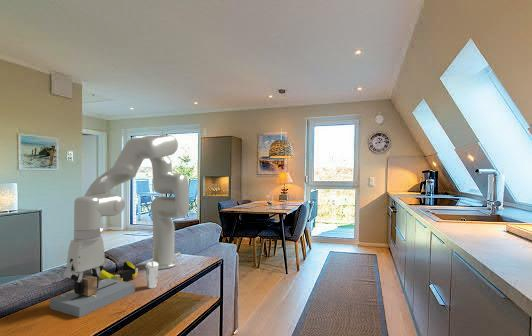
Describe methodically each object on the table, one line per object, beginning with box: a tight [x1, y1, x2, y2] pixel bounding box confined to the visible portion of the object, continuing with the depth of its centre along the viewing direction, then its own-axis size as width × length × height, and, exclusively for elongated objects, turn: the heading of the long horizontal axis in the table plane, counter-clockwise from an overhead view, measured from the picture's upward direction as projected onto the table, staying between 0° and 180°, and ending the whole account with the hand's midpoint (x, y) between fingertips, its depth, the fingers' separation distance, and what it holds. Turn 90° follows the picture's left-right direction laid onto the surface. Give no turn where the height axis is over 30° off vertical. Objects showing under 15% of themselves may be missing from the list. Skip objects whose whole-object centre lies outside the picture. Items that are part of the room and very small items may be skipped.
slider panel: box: [49, 278, 136, 319], centre depth 97 cm, size 20×14×3 cm
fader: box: [81, 274, 97, 296], centre depth 95 cm, size 3×6×5 cm, turn 66°
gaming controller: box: [99, 260, 139, 282], centre depth 116 cm, size 15×6×10 cm
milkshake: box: [145, 260, 159, 289], centre depth 108 cm, size 5×5×10 cm
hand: (86, 290), depth 95 cm, fingers open, 4 cm apart
